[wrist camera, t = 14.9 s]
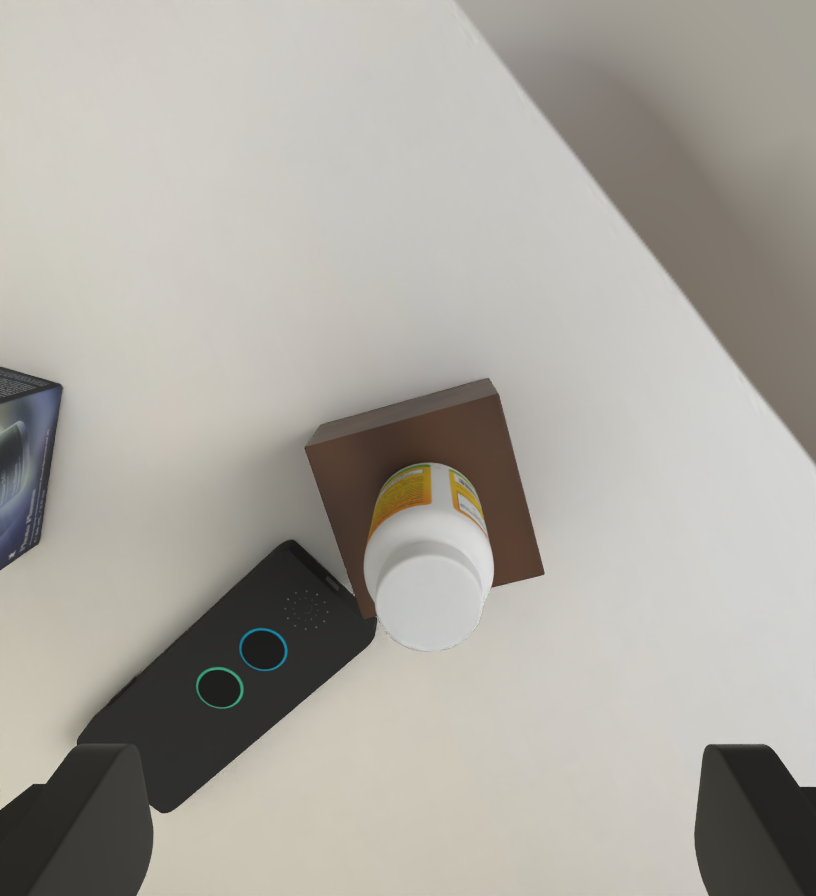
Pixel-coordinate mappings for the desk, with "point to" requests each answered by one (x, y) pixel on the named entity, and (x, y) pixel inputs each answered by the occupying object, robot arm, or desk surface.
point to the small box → (24, 458)
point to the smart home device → (234, 674)
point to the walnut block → (425, 441)
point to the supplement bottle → (428, 557)
